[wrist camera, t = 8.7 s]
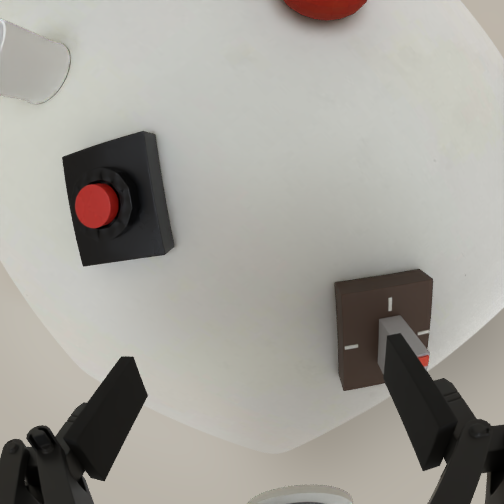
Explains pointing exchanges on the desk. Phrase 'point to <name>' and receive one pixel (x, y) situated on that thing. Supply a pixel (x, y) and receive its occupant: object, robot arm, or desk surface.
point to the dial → (400, 326)
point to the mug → (30, 64)
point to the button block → (121, 199)
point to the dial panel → (377, 320)
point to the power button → (96, 205)
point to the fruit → (325, 8)
